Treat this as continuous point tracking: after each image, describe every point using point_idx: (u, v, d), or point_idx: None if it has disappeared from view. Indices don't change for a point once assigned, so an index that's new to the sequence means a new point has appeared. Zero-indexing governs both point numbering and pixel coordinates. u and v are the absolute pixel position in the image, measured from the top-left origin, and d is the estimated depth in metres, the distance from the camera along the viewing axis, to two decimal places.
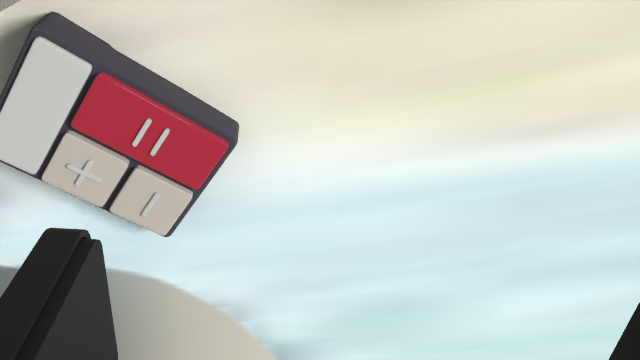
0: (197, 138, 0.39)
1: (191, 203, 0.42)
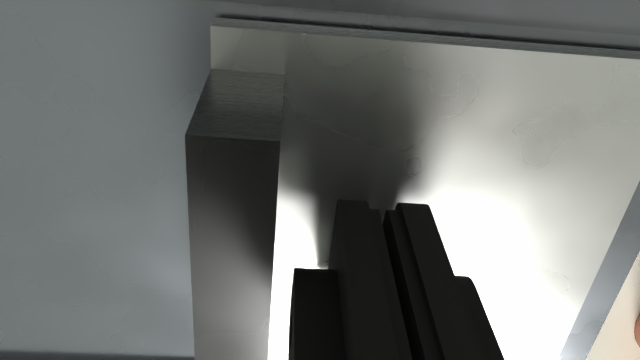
0: None
1: None
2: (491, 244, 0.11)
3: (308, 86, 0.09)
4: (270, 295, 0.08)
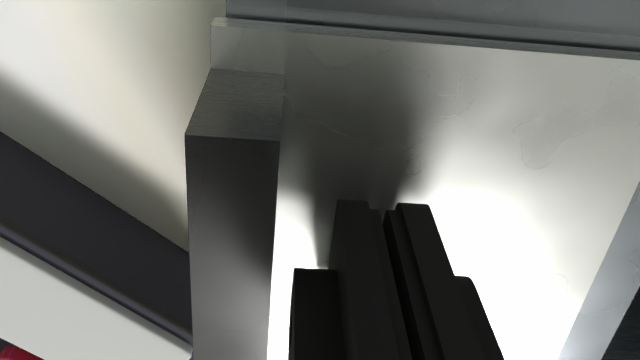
0: None
1: None
2: (491, 245, 0.11)
3: (308, 86, 0.09)
4: (269, 295, 0.08)
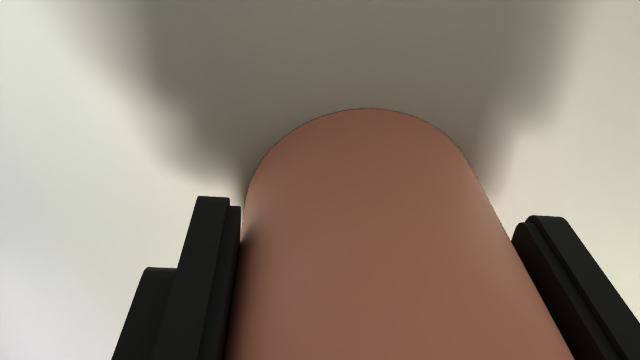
0: None
1: None
2: None
3: None
4: None
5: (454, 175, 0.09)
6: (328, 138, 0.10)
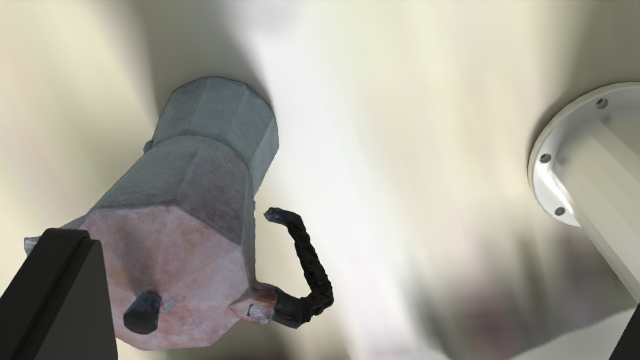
0: None
1: None
2: None
3: None
4: None
5: None
6: None
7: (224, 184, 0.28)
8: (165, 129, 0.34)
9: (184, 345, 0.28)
